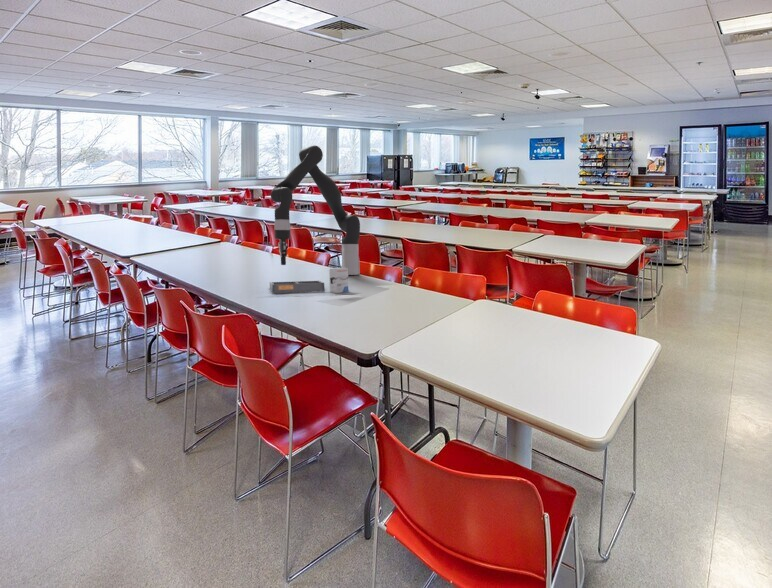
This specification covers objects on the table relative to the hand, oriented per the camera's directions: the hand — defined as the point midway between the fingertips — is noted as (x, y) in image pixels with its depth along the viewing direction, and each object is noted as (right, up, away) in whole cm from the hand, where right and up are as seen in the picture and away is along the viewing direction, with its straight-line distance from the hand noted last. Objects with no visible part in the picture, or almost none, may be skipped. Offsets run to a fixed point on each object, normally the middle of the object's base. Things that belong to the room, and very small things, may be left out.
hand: (283, 264), depth 235 cm
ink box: (+27, -14, 0) cm, 31 cm away
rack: (+6, -13, +4) cm, 15 cm away
